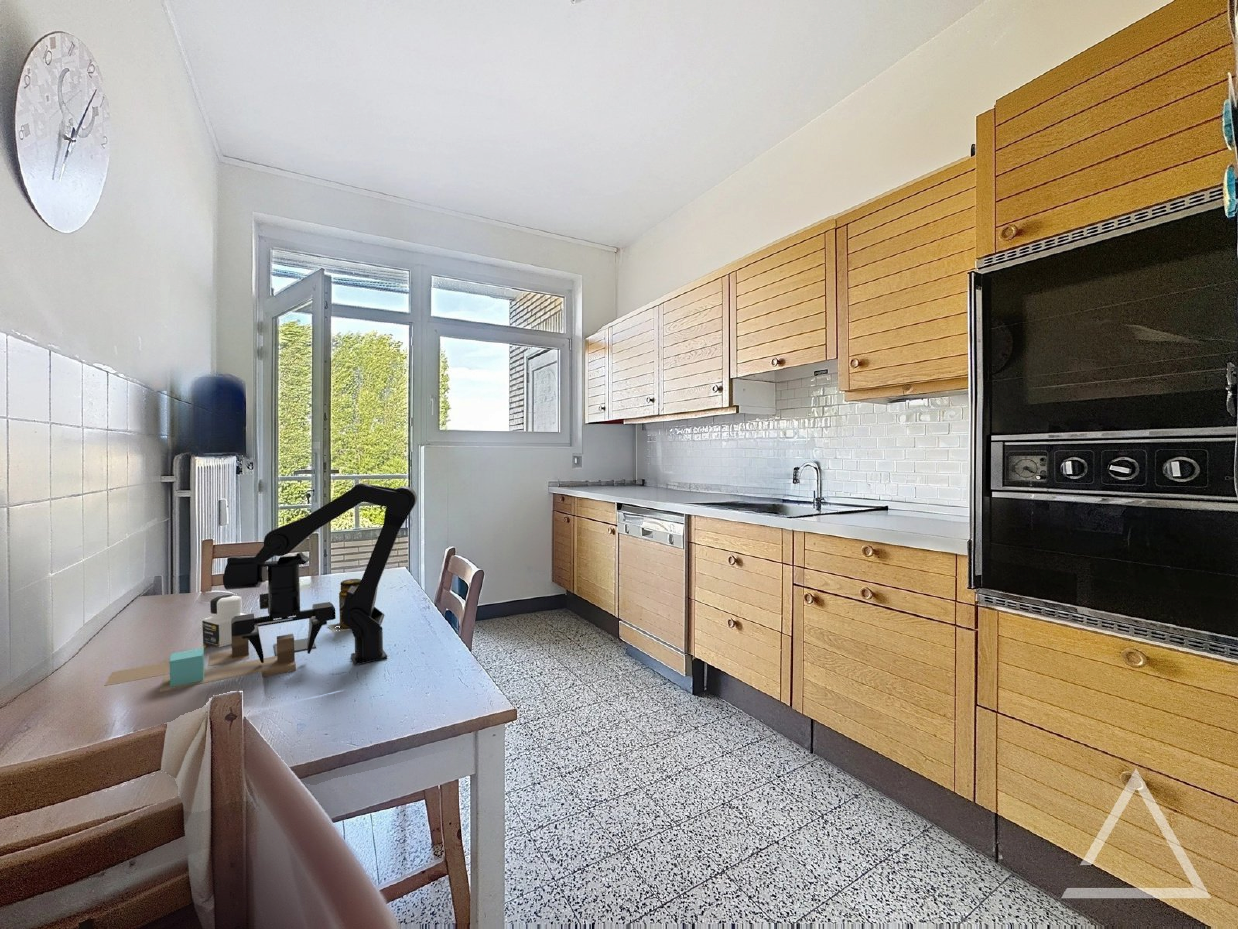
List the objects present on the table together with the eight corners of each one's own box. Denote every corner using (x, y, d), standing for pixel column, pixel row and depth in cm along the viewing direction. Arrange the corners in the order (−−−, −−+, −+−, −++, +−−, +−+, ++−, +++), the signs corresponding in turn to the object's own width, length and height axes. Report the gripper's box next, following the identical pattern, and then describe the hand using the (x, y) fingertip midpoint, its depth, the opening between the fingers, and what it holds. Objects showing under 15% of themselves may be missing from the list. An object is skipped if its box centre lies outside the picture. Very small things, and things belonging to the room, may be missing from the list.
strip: (295, 670, 114) (295, 640, 114) (159, 698, 101) (158, 665, 101) (292, 658, 121) (291, 630, 120) (164, 683, 108) (163, 652, 108)
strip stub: (249, 663, 118) (248, 635, 117) (208, 671, 114) (207, 642, 113) (248, 652, 124) (247, 625, 124) (210, 659, 120) (209, 632, 120)
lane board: (219, 690, 105) (218, 682, 105) (67, 722, 93) (67, 714, 93) (221, 656, 123) (221, 650, 122) (93, 680, 110) (93, 673, 110)
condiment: (370, 625, 144) (369, 580, 143) (335, 633, 138) (334, 586, 137) (360, 619, 149) (359, 576, 149) (327, 626, 143) (325, 581, 143)
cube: (203, 680, 106) (202, 655, 106) (170, 687, 103) (169, 661, 103) (204, 672, 110) (203, 647, 110) (172, 678, 108) (172, 653, 107)
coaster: (316, 649, 127) (316, 646, 127) (275, 657, 122) (275, 654, 122) (312, 639, 133) (312, 637, 133) (273, 646, 129) (273, 644, 129)
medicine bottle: (202, 649, 128) (200, 598, 127) (235, 639, 134) (234, 591, 134) (218, 654, 124) (217, 602, 124) (252, 644, 131) (250, 594, 130)
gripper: (328, 572, 128) (329, 638, 128) (230, 584, 117) (232, 656, 118) (335, 581, 119) (336, 652, 119) (230, 595, 108) (232, 673, 108)
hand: (286, 657), depth 116 cm, fingers open, 8 cm apart
